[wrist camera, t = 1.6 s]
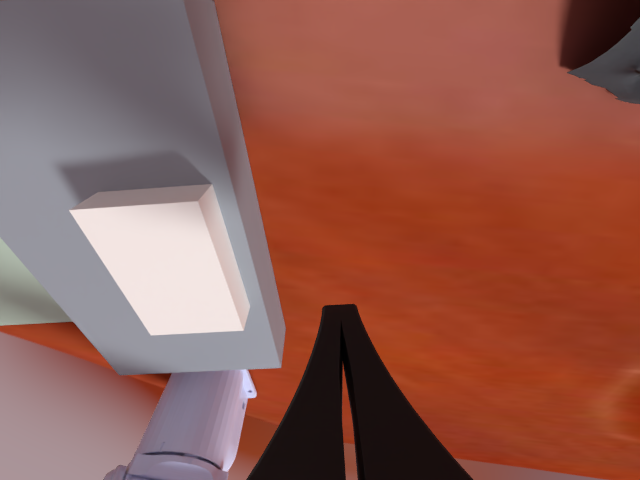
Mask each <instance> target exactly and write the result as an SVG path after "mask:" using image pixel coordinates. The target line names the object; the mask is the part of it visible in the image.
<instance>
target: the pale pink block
mask: <svg viewBox="0 0 640 480" xmlns="http://www.w3.org/2000/svg"><path fill="white" fill-rule="evenodd" d="M69 211H70V213H71V214H72V216H73V217H74V219H75V220H76V222H77V224H78V225H79V227H80V228H81V230H82V231H83V233H84V234H85V236H86V237H87V239H88V240H89V242H90V243H91V245H92V246H93V248H94V249H95V251H96V253H97V254H98V256H99V257H100V259H101V260H102V262H103V263H104V265H105V266H106V268H107V269H108V271H109V272H110V274H111V275H112V277H113V279H114V280H115V282H116V283H117V285H118V286H119V288H120V289H121V291H122V292H123V294H124V295H125V297H126V298H127V300H128V301H129V303H130V305H131V306H132V308H133V309H134V311H135V312H136V314H137V315H138V317H139V318H140V320H141V321H142V323H143V324H144V326H145V327H146V329H147V330H148V332H149V334H150V335H170V334H189V333H209V332H228V331H244V327H245V324H246V320H247V316H248V313H249V309H250V304H249V301H248V298H247V295H246V292H245V288H244V285H243V282H242V279H241V275H240V272H239V269H238V266H237V262H236V259H235V256H234V253H233V249H232V246H231V243H230V240H229V236H228V233H227V230H226V227H225V224H224V220H223V217H222V214H221V211H220V207H219V204H218V201H217V198H216V194H215V191H214V188H213V185H212V184H204V185H190V186H176V187H162V188H148V189H134V190H120V191H106V192H97V193H96V194H94V195H92V196H91V197H89V198H88V199H86V200H84V201H83V202H81V203H80V204H78V205H76V206H75V207H73V208H71V209H70V210H69Z"/></svg>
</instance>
